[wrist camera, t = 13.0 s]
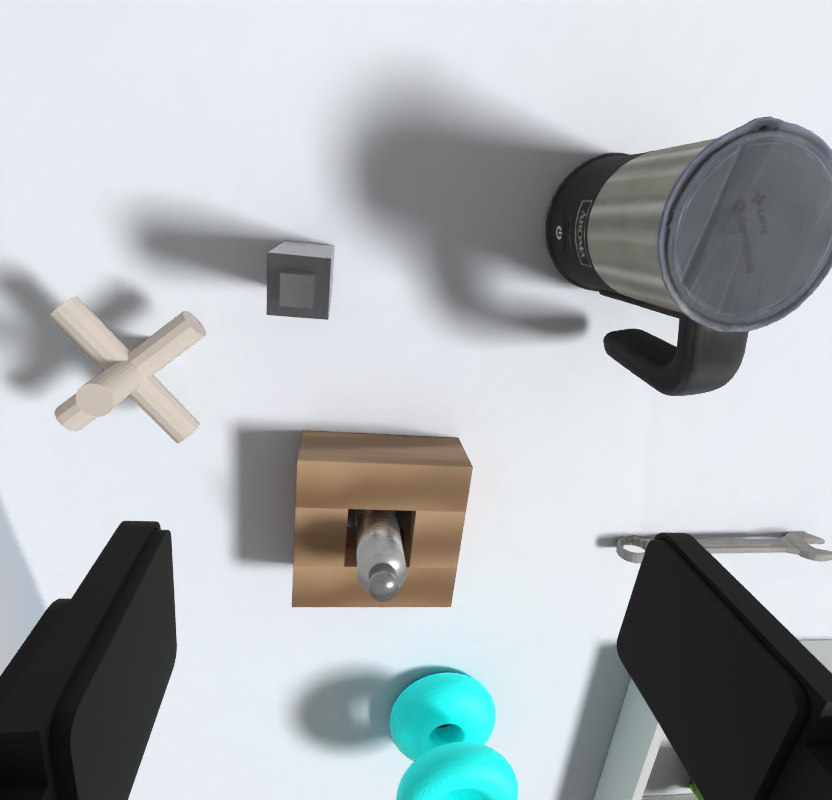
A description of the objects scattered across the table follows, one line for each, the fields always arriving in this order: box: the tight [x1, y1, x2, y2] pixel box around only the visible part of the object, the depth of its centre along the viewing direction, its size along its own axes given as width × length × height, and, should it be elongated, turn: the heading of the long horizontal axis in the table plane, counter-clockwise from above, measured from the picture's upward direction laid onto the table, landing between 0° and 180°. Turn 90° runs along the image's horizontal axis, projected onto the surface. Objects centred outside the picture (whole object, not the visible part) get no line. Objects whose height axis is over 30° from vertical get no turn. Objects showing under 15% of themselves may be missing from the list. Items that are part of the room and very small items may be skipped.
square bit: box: [267, 241, 334, 320], centre depth 32 cm, size 3×3×10 cm
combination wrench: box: [617, 532, 832, 563], centre depth 48 cm, size 4×1×20 cm
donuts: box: [390, 672, 518, 800], centre depth 47 cm, size 10×10×10 cm
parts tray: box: [593, 640, 832, 800], centre depth 55 cm, size 23×24×5 cm
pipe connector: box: [49, 297, 206, 443], centre depth 32 cm, size 10×10×10 cm
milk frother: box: [546, 117, 832, 396], centre depth 32 cm, size 14×16×15 cm
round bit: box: [355, 509, 407, 602], centre depth 38 cm, size 3×3×10 cm
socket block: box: [292, 431, 473, 607], centre depth 41 cm, size 12×12×5 cm
